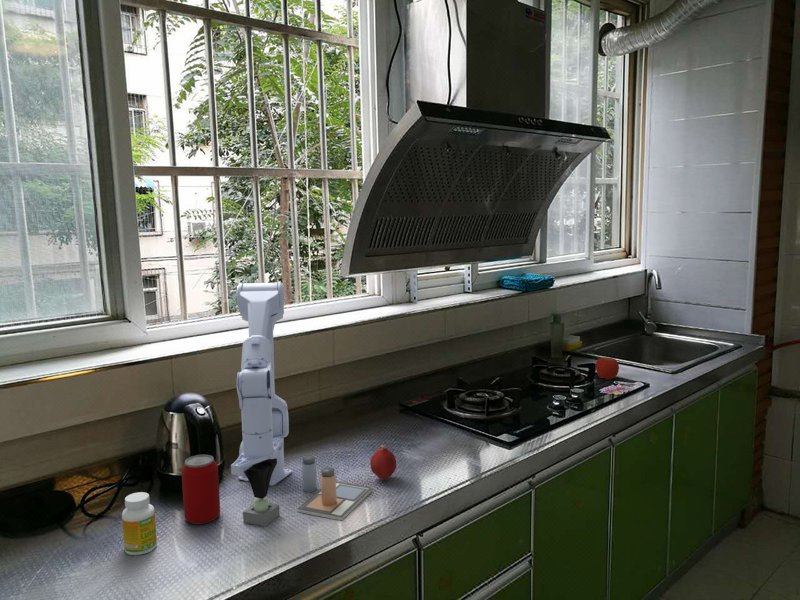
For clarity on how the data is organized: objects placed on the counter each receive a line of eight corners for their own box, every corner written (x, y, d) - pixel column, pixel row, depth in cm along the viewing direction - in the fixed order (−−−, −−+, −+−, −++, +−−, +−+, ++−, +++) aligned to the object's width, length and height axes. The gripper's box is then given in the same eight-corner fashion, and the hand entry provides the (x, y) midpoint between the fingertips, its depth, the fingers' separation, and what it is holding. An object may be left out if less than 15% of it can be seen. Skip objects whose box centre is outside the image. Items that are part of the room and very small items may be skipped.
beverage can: (224, 509, 127) (221, 452, 126) (215, 526, 121) (212, 466, 119) (190, 510, 127) (186, 453, 125) (180, 527, 120) (176, 467, 119)
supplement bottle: (143, 558, 110) (139, 505, 109) (117, 553, 111) (113, 501, 110) (163, 542, 115) (159, 491, 114) (138, 538, 116) (134, 488, 115)
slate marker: (300, 490, 136) (299, 459, 135) (307, 484, 138) (306, 454, 137) (312, 492, 134) (311, 461, 133) (319, 487, 137) (318, 456, 136)
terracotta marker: (319, 504, 127) (317, 471, 126) (326, 498, 130) (324, 465, 129) (332, 506, 126) (330, 473, 125) (339, 500, 129) (337, 467, 128)
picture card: (297, 511, 126) (297, 508, 126) (331, 483, 139) (331, 480, 139) (341, 520, 122) (341, 517, 122) (372, 490, 135) (372, 487, 135)
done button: (251, 516, 123) (250, 501, 122) (259, 510, 125) (258, 495, 125) (263, 519, 121) (262, 503, 121) (271, 512, 124) (270, 497, 124)
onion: (382, 472, 145) (381, 438, 143) (402, 478, 141) (401, 444, 140) (365, 480, 140) (364, 446, 139) (385, 487, 136) (384, 452, 135)
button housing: (243, 522, 122) (242, 511, 122) (258, 510, 127) (258, 500, 126) (265, 526, 120) (264, 516, 120) (279, 515, 125) (279, 504, 124)
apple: (607, 382, 215) (607, 360, 214) (590, 377, 222) (590, 355, 221) (623, 379, 219) (624, 357, 218) (605, 374, 226) (606, 353, 225)
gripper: (252, 445, 113) (255, 516, 115) (295, 420, 126) (298, 484, 128) (220, 440, 115) (224, 510, 117) (265, 416, 129) (268, 479, 131)
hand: (260, 496), depth 123 cm, fingers closed
